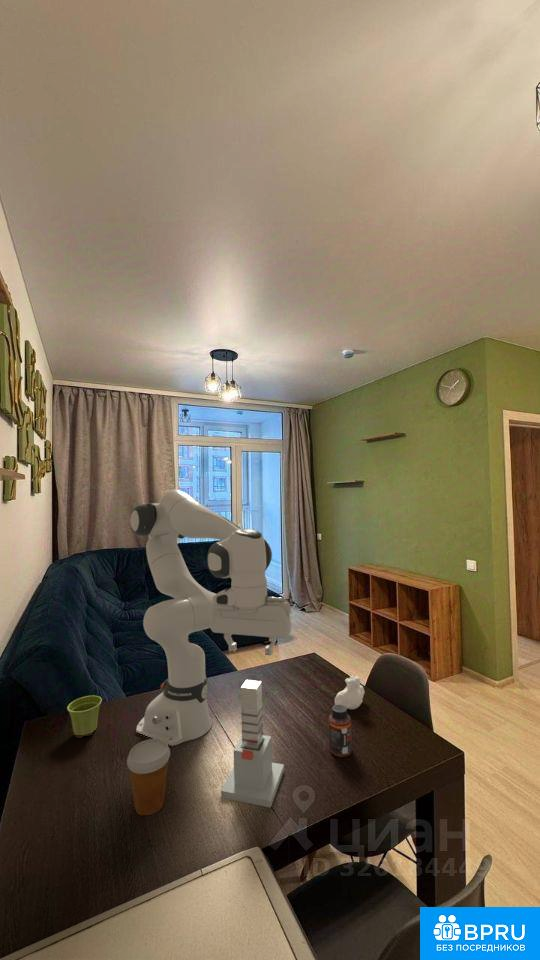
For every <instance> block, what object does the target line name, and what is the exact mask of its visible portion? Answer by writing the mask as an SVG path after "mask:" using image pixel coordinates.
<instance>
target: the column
mask: <svg viewBox="0 0 540 960" xmlns="http://www.w3.org/2000/svg"><path fill="white" fill-rule="evenodd" d="M262 683H263V682H262V680H254V679H246V680H245V681H244V682H243V684H242V685H241V686H240V705H241V706H240V707H241V709H240V710H241V711H240V715H241V737H242V748H244V749H250V750H256V751H259V750H260V748H261V746H262V744H263V735H264V720H263V715H264V714H263V685H262Z"/></svg>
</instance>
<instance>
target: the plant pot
mask: <svg viewBox="0 0 540 960" xmlns="http://www.w3.org/2000/svg"><path fill="white" fill-rule="evenodd" d="M102 701H103V699H102V697H101V696H100V695H99V696H98V695H86V696H82V697H79V698H76V699H75V700H73V701H71V702H70V703H69V704H68V705H67V707H66V709H67V712H68V713H69V716H70V719H71V725H72V732H74V733H73V735H74V734H75V735H86V734H89V733H92V732H93V731H94V730H96V731H97V729H96V728H97V727H98V718H99V711H100V707H101V704H102Z"/></svg>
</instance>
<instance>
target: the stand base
mask: <svg viewBox="0 0 540 960" xmlns="http://www.w3.org/2000/svg"><path fill="white" fill-rule="evenodd" d="M272 750H273V749H272V736H270V735H264V734H263V744H262V746H261V748H260V750H259V751H256V750H250V749H244V748H242V736H241V737H240V738H239V740H238V741H237V744H236V745H235V747H234V749H233V768H232V770H231V772H230V774H229V775H228V777H227V779H226V781H225V782H224V783H223V786H222V787H221V788H222V789H221V790H220V798H223V799H228V800H232V801H236V802H242V803H245V804H250V805H255V806H256V805H257V806H262V807H265V808H272V806H273V803H274V799H275V797H276V794H277V792H278V789H279V785H280V783H281V780H282V778H283V776H284V771H285V764H284V763H283V764H282V763H277V762H273V754H272V753H273V751H272Z"/></svg>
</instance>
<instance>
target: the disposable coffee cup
mask: <svg viewBox="0 0 540 960" xmlns="http://www.w3.org/2000/svg"><path fill="white" fill-rule="evenodd" d="M170 756H171V749H170V747H169V745H168V744H167V743H166V742H165V741H164V740H161V739H151V738H149V739H145V740H142V741H139V742H138V743H137V744H134V746H133V747H132V748H131V749H130V751H129V754H128V756H127V759H126V765H127V767H128V770H129V776H130V780H131V781H130V782H131V788H132V797H133V803H134V810H136V811H135V812H137V813H136V814H137V815H139V814H140V815H139V816H143V815H147V816H151V815H153V813H154V814H156V813H157V812H159V811H160V810H161V809H162V807H164V806H163V805H164V803H165V795H166V794H165V793H166V784H167V775H168V774H167V773H168V765H169V759H170ZM150 814H151V815H150Z"/></svg>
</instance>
